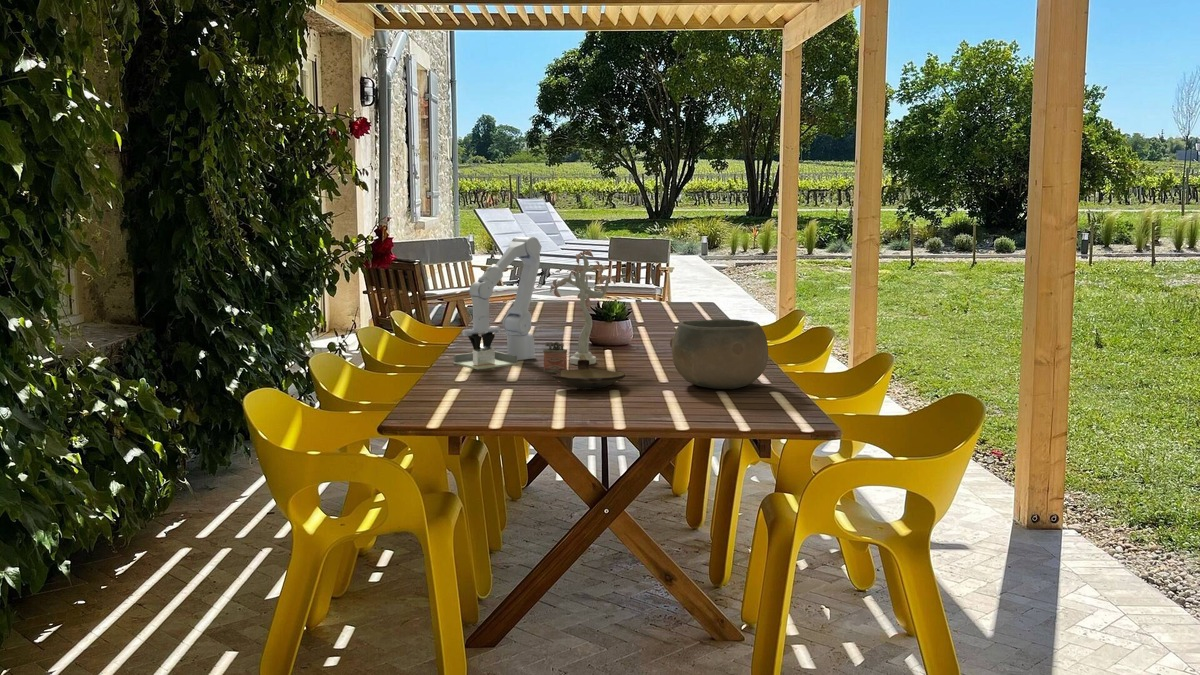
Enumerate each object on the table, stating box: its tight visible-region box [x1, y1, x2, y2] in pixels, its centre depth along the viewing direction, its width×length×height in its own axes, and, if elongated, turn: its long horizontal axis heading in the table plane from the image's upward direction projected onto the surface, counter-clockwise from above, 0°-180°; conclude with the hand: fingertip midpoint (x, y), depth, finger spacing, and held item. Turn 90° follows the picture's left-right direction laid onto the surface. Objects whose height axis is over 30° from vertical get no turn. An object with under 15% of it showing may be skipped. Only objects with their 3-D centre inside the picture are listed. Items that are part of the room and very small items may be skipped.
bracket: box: [472, 343, 496, 366], centre depth 346 cm, size 9×7×5 cm
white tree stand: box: [549, 249, 617, 366], centre depth 350 cm, size 28×24×40 cm
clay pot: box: [669, 318, 769, 390], centre depth 305 cm, size 30×30×20 cm
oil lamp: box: [550, 354, 626, 390], centre depth 307 cm, size 22×30×8 cm
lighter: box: [542, 341, 568, 373], centre depth 333 cm, size 8×3×10 cm, turn 84°
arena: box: [453, 350, 518, 370], centre depth 349 cm, size 16×16×3 cm
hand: (481, 354), depth 349 cm, fingers closed on bracket, 3 cm apart
